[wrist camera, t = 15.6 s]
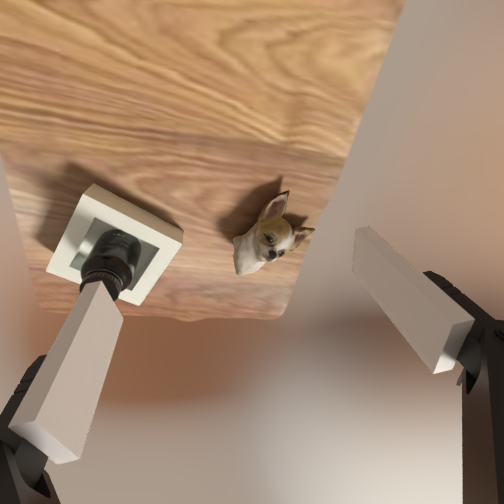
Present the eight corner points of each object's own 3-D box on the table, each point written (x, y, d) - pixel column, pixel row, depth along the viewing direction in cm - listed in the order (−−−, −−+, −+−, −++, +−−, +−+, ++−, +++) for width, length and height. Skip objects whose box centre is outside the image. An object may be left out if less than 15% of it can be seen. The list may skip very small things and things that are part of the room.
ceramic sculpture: (218, 260, 41) (300, 199, 39) (212, 234, 49) (281, 181, 46) (257, 299, 47) (331, 247, 45) (247, 270, 54) (310, 225, 52)
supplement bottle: (140, 265, 48) (125, 314, 39) (97, 259, 47) (69, 309, 37) (144, 231, 45) (128, 275, 35) (98, 223, 43) (68, 267, 33)
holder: (93, 182, 41) (82, 193, 37) (183, 230, 47) (182, 244, 44) (58, 255, 46) (45, 271, 42) (143, 289, 53) (139, 305, 49)
